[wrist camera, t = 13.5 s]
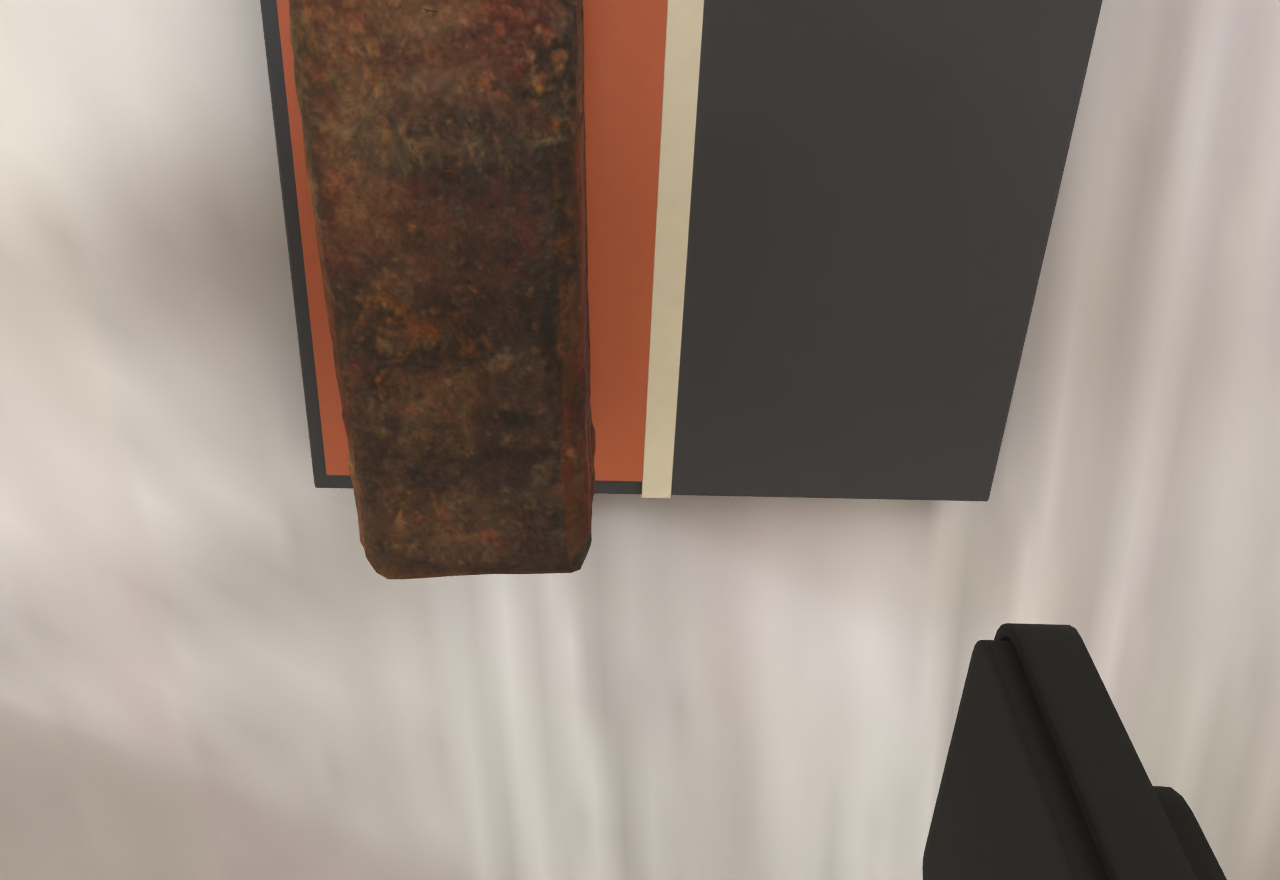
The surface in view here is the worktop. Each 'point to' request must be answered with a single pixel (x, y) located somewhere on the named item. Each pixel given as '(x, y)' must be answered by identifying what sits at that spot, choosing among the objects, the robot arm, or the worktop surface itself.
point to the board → (786, 238)
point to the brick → (455, 274)
